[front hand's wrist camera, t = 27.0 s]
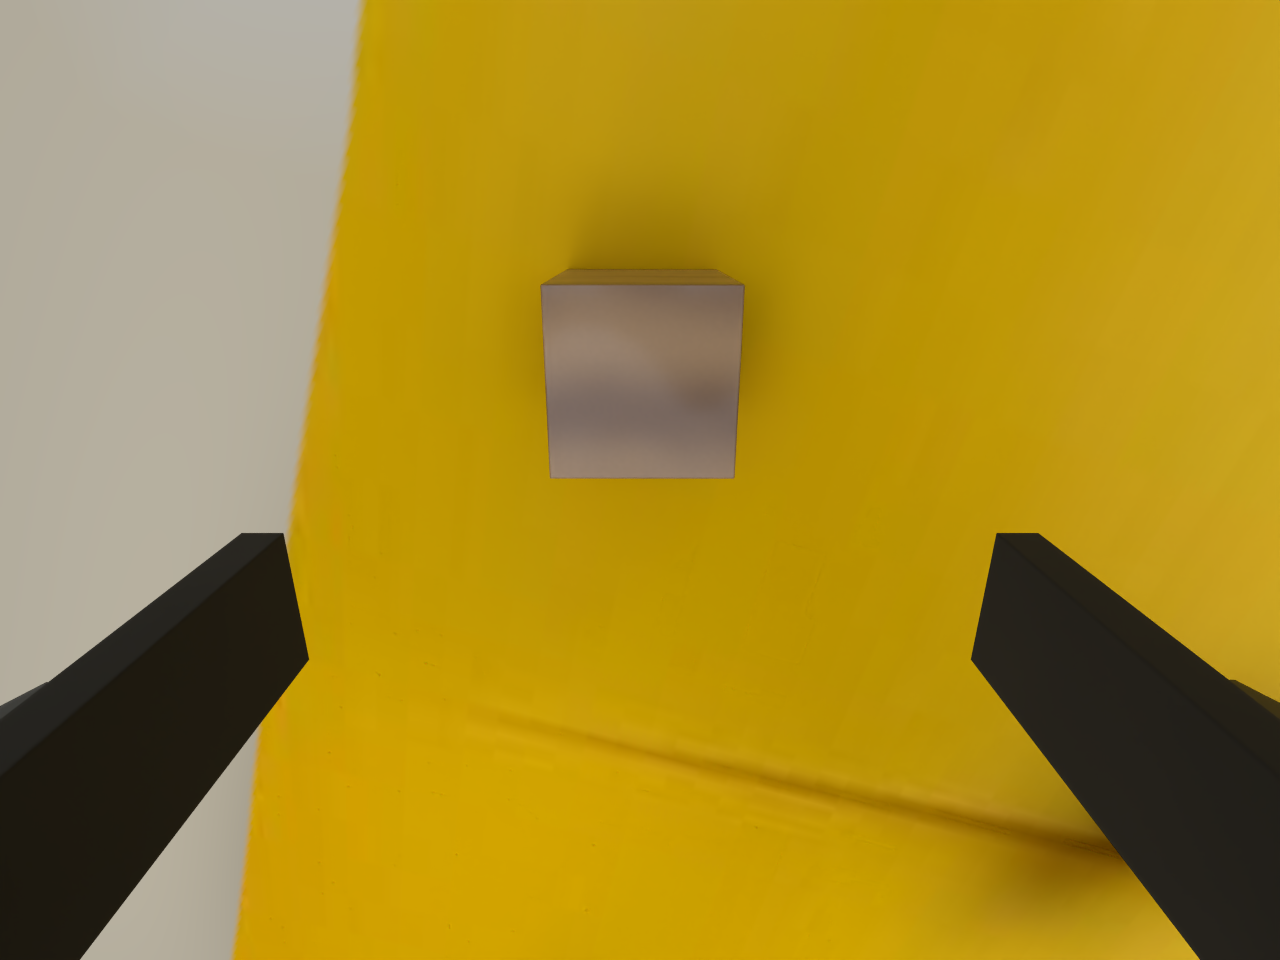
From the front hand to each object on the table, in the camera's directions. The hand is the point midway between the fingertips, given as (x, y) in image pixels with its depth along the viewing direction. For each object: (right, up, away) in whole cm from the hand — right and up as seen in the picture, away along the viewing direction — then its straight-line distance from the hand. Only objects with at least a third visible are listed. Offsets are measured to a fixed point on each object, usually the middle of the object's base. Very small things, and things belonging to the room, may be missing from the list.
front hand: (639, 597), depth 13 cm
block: (0, +10, +27) cm, 29 cm away
